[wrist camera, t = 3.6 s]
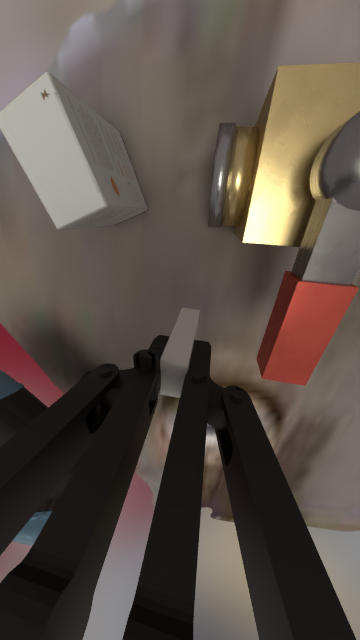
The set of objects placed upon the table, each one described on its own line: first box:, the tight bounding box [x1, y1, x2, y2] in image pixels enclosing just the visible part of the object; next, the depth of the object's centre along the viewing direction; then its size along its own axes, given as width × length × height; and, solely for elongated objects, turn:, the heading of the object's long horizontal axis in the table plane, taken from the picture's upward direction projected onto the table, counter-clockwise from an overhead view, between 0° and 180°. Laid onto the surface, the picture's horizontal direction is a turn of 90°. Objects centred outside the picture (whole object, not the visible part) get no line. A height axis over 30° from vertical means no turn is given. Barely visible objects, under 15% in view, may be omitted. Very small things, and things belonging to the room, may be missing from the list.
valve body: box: [221, 63, 360, 247], centre depth 16 cm, size 14×9×11 cm, turn 87°
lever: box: [257, 111, 360, 386], centre depth 13 cm, size 17×4×3 cm, turn 177°
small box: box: [0, 71, 148, 230], centre depth 19 cm, size 8×6×10 cm
